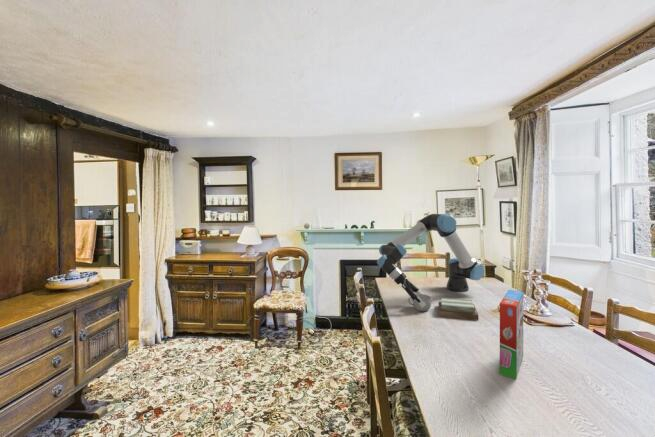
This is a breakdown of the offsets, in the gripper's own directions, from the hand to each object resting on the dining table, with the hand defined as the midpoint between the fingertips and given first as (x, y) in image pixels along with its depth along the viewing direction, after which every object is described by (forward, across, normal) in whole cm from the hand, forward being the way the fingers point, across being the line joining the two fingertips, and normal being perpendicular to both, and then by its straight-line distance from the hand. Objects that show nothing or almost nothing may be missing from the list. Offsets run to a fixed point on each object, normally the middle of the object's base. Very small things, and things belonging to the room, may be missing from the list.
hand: (424, 302), depth 178 cm
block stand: (+16, 0, +10) cm, 19 cm away
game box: (+27, +54, +21) cm, 64 cm away
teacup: (+1, 0, -5) cm, 5 cm away
